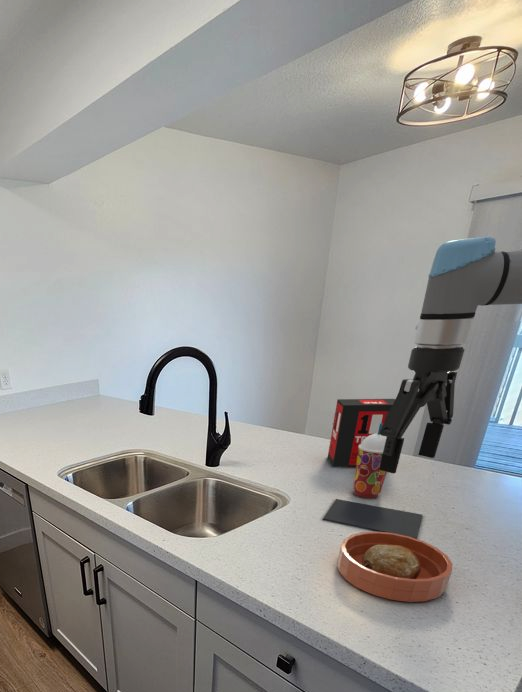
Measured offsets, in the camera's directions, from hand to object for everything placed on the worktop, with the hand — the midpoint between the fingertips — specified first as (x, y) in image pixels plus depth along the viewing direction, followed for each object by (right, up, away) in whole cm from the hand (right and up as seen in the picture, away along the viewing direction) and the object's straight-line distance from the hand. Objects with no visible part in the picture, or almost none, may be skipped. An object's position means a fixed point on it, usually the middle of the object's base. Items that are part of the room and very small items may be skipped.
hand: (407, 463), depth 84 cm
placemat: (+8, -10, +25) cm, 28 cm away
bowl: (-2, -22, +3) cm, 22 cm away
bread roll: (-2, -22, +3) cm, 22 cm away
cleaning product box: (+24, +8, +60) cm, 65 cm away
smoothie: (+14, -3, +38) cm, 41 cm away
